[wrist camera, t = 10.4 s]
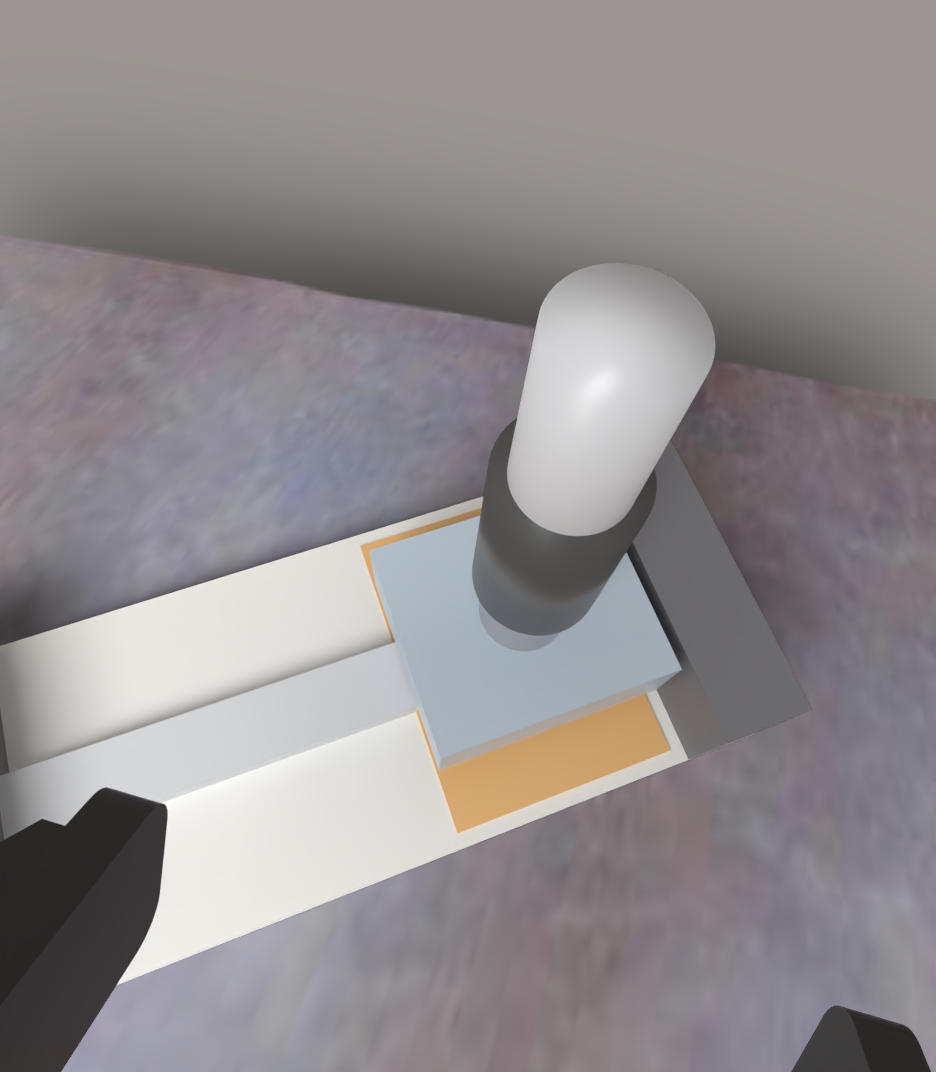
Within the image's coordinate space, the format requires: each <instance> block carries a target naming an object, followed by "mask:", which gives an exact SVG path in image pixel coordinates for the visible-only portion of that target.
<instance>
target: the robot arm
mask: <svg viewBox="0 0 936 1072" xmlns="http://www.w3.org/2000/svg"><path fill="white" fill-rule="evenodd" d="M167 819H168V810H167V807H166V805H165V804H162V803H159V802H155V801H152V800H149V799H145V798H142V797H139V796H135V795H132V794H128V793H125V792H122V791H118V790H115V789H111V788H108V787H105V788H102V789H100V790H98V791H97V792H96V793H95V794H94V795H93V796H92V797H91V798H90V799H89V800H88V801H87V802H86V803H85V804H84V805H83V807H82V808H81V809H80V810H79V811H78V812H77V813H76V814H75V815H74V817H73V818H72V819H71V820H70V821H69V822H68V823H67V824H66V825H65V826H64V825H61V824H58V823H54V822H51V821H48V820H44V819H41V820H39V821H37V822H35V823H33V824H32V825H30V826H28V827H26V828H24V829H23V830H21V831H19V832H17V833H15V834H14V835H12V836H10V837H8V838H6V839H5V840H3V841H1V842H0V1072H61V1071H62V1069H63V1068H64V1066H65V1065H66V1063H67V1062H68V1060H69V1058H70V1057H71V1055H72V1054H73V1052H74V1051H75V1049H76V1048H77V1046H78V1044H79V1043H80V1041H81V1040H82V1038H83V1037H84V1035H85V1033H86V1032H87V1030H88V1029H89V1027H90V1026H91V1024H92V1023H93V1021H94V1019H95V1018H96V1016H97V1015H98V1013H99V1012H100V1010H101V1008H102V1007H103V1005H104V1004H105V1002H106V1001H107V999H108V998H109V996H110V994H111V993H112V991H113V990H114V988H115V987H116V985H117V984H118V982H119V980H120V979H121V977H122V976H123V974H124V973H125V971H126V969H127V968H128V966H129V965H130V963H131V962H132V960H133V959H134V957H135V955H136V954H137V952H138V950H139V949H140V947H141V945H142V943H143V941H144V939H145V937H146V935H147V933H148V931H149V929H150V926H151V924H152V921H153V918H154V915H155V912H156V909H157V906H158V901H159V896H160V888H161V878H162V868H163V859H164V849H165V839H166V829H167ZM792 1072H931V1071H930V1069H929V1066H928V1064H927V1061H926V1059H925V1056H924V1054H923V1051H922V1049H921V1046H920V1044H919V1042H918V1040H917V1038H916V1037H915V1035H914V1034H913V1032H912V1031H911V1030H910V1029H909V1028H908V1027H906V1026H905V1025H902V1024H899V1023H895V1022H892V1021H888V1020H885V1019H882V1018H878V1017H875V1016H872V1015H868V1014H865V1013H861V1012H858V1011H855V1010H851V1009H848V1008H844V1007H841V1006H833V1007H831V1008H830V1009H829V1010H828V1011H827V1012H826V1013H825V1015H824V1016H823V1018H822V1020H821V1021H820V1023H819V1025H818V1027H817V1028H816V1030H815V1032H814V1033H813V1035H812V1037H811V1039H810V1040H809V1042H808V1044H807V1046H806V1047H805V1049H804V1051H803V1053H802V1054H801V1056H800V1058H799V1059H798V1061H797V1063H796V1065H795V1066H794V1068H793V1070H792Z"/></svg>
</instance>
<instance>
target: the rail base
mask: <svg viewBox="0 0 936 1072" xmlns="http://www.w3.org/2000/svg"><path fill="white" fill-rule="evenodd" d="M655 471H656V479H657V491H656V498H655V502H654V505H653V508H652V511H651V513H650V515H649V517H648V519H647V520H646V522H645V523H644V525H643V527H642V528H641V530H640V531H639V533H638V534H637V536H636V538H635V539H634V541H633V542H632V544H631V545H630V547H629V549H628V550H627V554H628V557H629V559H630V561H631V563H632V565H633V567H634V569H635V571H636V573H637V576H638V578H639V580H640V582H641V584H642V586H643V588H644V590H645V592H646V595H647V597H648V599H649V601H650V603H651V605H652V607H653V609H654V612H655V614H656V616H657V618H658V620H659V622H660V624H661V626H662V628H663V631H664V633H665V635H666V637H667V639H668V641H669V643H670V645H671V647H672V650H673V652H674V654H675V656H676V658H677V660H678V662H679V664H680V666H681V669H682V670H681V671H679V672H678V673H677V674H675V675H674V676H673V677H672V678H670V679H669V680H668V681H666V682H665V683H664V684H663V685H661V686H660V687H659V688H658V689H656V690H654V691H651V692H649V693H646V694H643V695H641V696H638V697H635V698H632V699H630V700H627V701H624V702H622V703H619V704H616V705H614V706H611V707H608V708H606V709H603V710H600V711H598V712H595V713H592V714H590V715H587V716H584V717H582V718H579V719H576V720H574V721H571V722H568V723H565V724H563V725H560V726H557V727H555V728H552V729H549V730H547V731H544V732H541V733H539V734H536V735H533V736H531V737H528V738H525V739H523V740H520V741H517V742H515V743H512V744H509V745H506V746H504V747H501V748H498V749H496V750H493V751H490V752H488V753H485V754H482V755H480V756H477V757H474V758H472V759H469V760H466V761H464V762H461V763H458V764H456V765H453V766H450V767H448V768H445V769H442V770H438V767H437V764H436V761H435V758H434V755H433V752H432V749H431V746H430V743H429V740H428V737H427V734H426V731H425V728H424V725H423V723H422V720H421V717H420V714H419V711H418V708H417V705H416V702H415V699H414V696H413V693H412V690H411V687H410V684H409V681H408V678H407V675H406V673H405V670H404V667H403V664H402V661H401V658H400V655H399V652H398V649H397V646H396V643H395V640H394V637H393V634H392V631H391V628H390V625H389V623H388V620H387V617H386V614H385V611H384V608H383V605H382V602H381V599H380V596H379V593H378V590H377V587H376V584H375V581H374V575H373V569H372V563H371V557H370V551H369V550H372V549H375V548H379V547H382V546H385V545H388V544H391V543H394V542H398V541H401V540H404V539H407V538H410V537H414V536H417V535H420V534H423V533H426V532H430V531H433V530H436V529H439V528H442V527H445V526H449V525H452V524H455V523H458V522H461V521H465V520H468V519H471V518H474V517H477V516H480V515H481V509H482V502H483V497H479V498H476V499H473V500H470V501H467V502H463V503H460V504H457V505H454V506H450V507H447V508H444V509H441V510H437V511H434V512H431V513H428V514H425V515H421V516H418V517H415V518H412V519H408V520H405V521H402V522H399V523H395V524H392V525H389V526H386V527H383V528H379V529H376V530H373V531H370V532H366V533H363V534H360V535H357V536H353V537H350V538H347V539H344V540H341V541H337V542H334V543H331V544H328V545H324V546H321V547H318V548H315V549H312V550H308V551H305V552H302V553H299V554H295V555H292V556H289V557H286V558H282V559H279V560H276V561H273V562H270V563H266V564H263V565H260V566H257V567H253V568H250V569H247V570H244V571H240V572H237V573H234V574H231V575H228V576H224V577H221V578H218V579H215V580H211V581H208V582H205V583H202V584H198V585H195V586H192V587H189V588H186V589H182V590H179V591H176V592H173V593H169V594H166V595H163V596H160V597H156V598H153V599H150V600H147V601H144V602H140V603H137V604H134V605H131V606H127V607H124V608H121V609H118V610H115V611H111V612H108V613H105V614H102V615H98V616H95V617H92V618H89V619H85V620H82V621H79V622H76V623H73V624H69V625H66V626H63V627H60V628H56V629H53V630H50V631H47V632H43V633H40V634H37V635H34V636H31V637H27V638H24V639H21V640H18V641H14V642H11V643H8V644H5V645H1V646H0V842H1V841H3V840H5V839H6V838H8V837H10V836H12V835H14V834H15V833H17V832H19V831H21V830H23V829H24V828H26V827H28V826H30V825H32V824H33V823H35V822H37V821H39V820H41V819H44V820H48V821H51V822H54V823H58V824H61V825H64V826H65V825H66V824H67V823H68V822H69V821H70V820H71V819H72V818H73V817H74V815H75V814H76V813H77V812H78V811H79V810H80V809H81V808H82V807H83V805H84V804H85V803H86V802H87V801H88V800H89V799H90V798H91V797H92V796H93V795H94V794H95V793H96V792H97V791H98V790H100V789H102V788H105V787H108V788H111V789H115V790H118V791H122V792H125V793H128V794H132V795H135V796H139V797H142V798H145V799H149V800H152V801H155V802H159V803H162V804H165V805H166V807H167V810H168V819H167V829H166V839H165V849H164V859H163V868H162V878H161V888H160V896H159V901H158V906H157V909H156V912H155V915H154V918H153V921H152V924H151V926H150V929H149V931H148V933H147V935H146V937H145V939H144V941H143V943H142V945H141V947H140V949H139V950H138V952H137V954H136V955H135V957H134V959H133V960H132V962H131V963H130V965H129V966H128V968H127V969H126V971H125V973H124V974H123V976H122V977H121V979H120V980H119V982H118V984H117V985H119V984H121V983H124V982H126V981H129V980H131V979H134V978H137V977H139V976H142V975H144V974H147V973H149V972H152V971H154V970H157V969H159V968H162V967H164V966H167V965H170V964H172V963H175V962H177V961H180V960H182V959H185V958H187V957H190V956H192V955H195V954H197V953H200V952H202V951H205V950H208V949H210V948H213V947H215V946H218V945H220V944H223V943H225V942H228V941H230V940H233V939H235V938H238V937H241V936H243V935H246V934H248V933H251V932H253V931H256V930H258V929H261V928H263V927H266V926H268V925H271V924H274V923H276V922H279V921H281V920H284V919H286V918H289V917H291V916H294V915H296V914H299V913H301V912H304V911H306V910H309V909H312V908H314V907H317V906H319V905H322V904H324V903H327V902H329V901H332V900H334V899H337V898H339V897H342V896H345V895H347V894H350V893H352V892H355V891H357V890H360V889H362V888H365V887H367V886H370V885H372V884H375V883H377V882H380V881H383V880H385V879H388V878H390V877H393V876H395V875H398V874H400V873H403V872H405V871H408V870H410V869H413V868H416V867H418V866H421V865H423V864H426V863H428V862H431V861H433V860H436V859H438V858H441V857H443V856H446V855H448V854H451V853H454V852H456V851H459V850H461V849H464V848H466V847H469V846H471V845H474V844H476V843H479V842H481V841H484V840H487V839H489V838H492V837H494V836H497V835H499V834H502V833H504V832H507V831H509V830H512V829H514V828H517V827H520V826H522V825H525V824H527V823H530V822H532V821H535V820H537V819H540V818H542V817H545V816H547V815H550V814H552V813H555V812H558V811H560V810H563V809H565V808H568V807H570V806H573V805H575V804H578V803H580V802H583V801H585V800H588V799H591V798H593V797H596V796H598V795H601V794H603V793H606V792H608V791H611V790H613V789H616V788H618V787H621V786H623V785H626V784H629V783H631V782H634V781H636V780H639V779H641V778H644V777H646V776H649V775H651V774H654V773H656V772H659V771H662V770H664V769H667V768H669V767H672V766H674V765H677V764H679V763H682V762H684V761H687V760H689V759H692V758H694V757H697V756H700V755H702V754H705V753H707V752H710V751H712V750H715V749H717V748H720V747H722V746H725V745H727V744H730V743H733V742H735V741H738V740H740V739H743V738H745V737H748V736H750V735H752V734H755V733H757V732H760V731H762V730H764V729H767V728H769V727H772V726H774V725H776V724H779V723H781V722H784V721H786V720H788V719H791V718H793V717H796V716H798V715H800V714H803V713H805V712H808V711H810V710H812V707H811V705H810V703H809V701H808V699H807V697H806V695H805V693H804V692H803V690H802V688H801V686H800V684H799V682H798V680H797V678H796V676H795V674H794V673H793V671H792V669H791V667H790V665H789V663H788V661H787V659H786V657H785V655H784V654H783V652H782V650H781V648H780V646H779V644H778V642H777V640H776V638H775V636H774V635H773V633H772V631H771V629H770V627H769V625H768V623H767V621H766V619H765V617H764V616H763V614H762V612H761V610H760V608H759V606H758V604H757V602H756V600H755V598H754V597H753V595H752V593H751V591H750V589H749V587H748V585H747V583H746V581H745V579H744V578H743V576H742V574H741V572H740V570H739V568H738V566H737V564H736V562H735V560H734V559H733V557H732V555H731V553H730V551H729V549H728V547H727V545H726V543H725V541H724V540H723V538H722V536H721V534H720V532H719V530H718V528H717V526H716V524H715V522H714V521H713V519H712V517H711V515H710V513H709V511H708V509H707V507H706V505H705V503H704V502H703V500H702V498H701V496H700V494H699V492H698V490H697V488H696V486H695V484H694V483H693V481H692V479H691V477H690V475H689V473H688V471H687V469H686V467H685V465H684V464H683V462H682V460H681V458H680V456H679V454H678V452H677V450H676V448H675V446H674V445H673V443H672V441H671V439H670V441H669V443H668V445H667V446H666V448H665V450H664V452H663V453H662V455H661V457H660V459H659V460H658V462H657V464H656V466H655Z"/></svg>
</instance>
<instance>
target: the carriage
mask: <svg viewBox="0 0 936 1072" xmlns="http://www.w3.org/2000/svg"><path fill="white" fill-rule="evenodd" d="M714 354H715V337H714V331H713V327H712V324H711V321H710V319H709V317H708V315H707V313H706V311H705V310H704V308H703V307H702V305H701V304H700V302H699V301H698V300H697V299H696V298H695V297H694V295H693V294H692V293H691V292H689V291H688V290H687V289H686V288H685V287H684V286H682V285H681V284H680V283H678V282H677V281H675V280H674V279H672V278H670V277H669V276H667V275H665V274H662V273H660V272H658V271H656V270H653V269H650V268H647V267H643V266H638V265H634V264H626V263H607V264H598V265H594V266H589V267H586V268H583V269H581V270H578V271H576V272H574V273H572V274H570V275H568V276H567V277H565V278H564V279H562V280H561V281H560V282H559V283H558V284H557V285H555V286H554V287H553V289H552V290H551V291H550V292H549V293H548V295H547V297H546V298H545V300H544V302H543V304H542V306H541V309H540V312H539V316H538V320H537V325H536V330H535V335H534V340H533V345H532V349H531V354H530V359H529V364H528V369H527V373H526V378H525V383H524V388H523V393H522V398H521V402H520V407H519V412H518V417H517V418H516V419H515V420H514V421H513V422H511V423H510V424H509V425H508V426H507V427H506V428H505V429H504V431H503V432H502V433H501V434H500V436H499V437H498V439H497V441H496V442H495V445H494V447H493V449H492V452H491V456H490V460H489V465H488V471H487V477H486V484H485V490H484V496H483V502H482V509H481V515H480V516H477V517H474V518H471V519H468V520H465V521H461V522H458V523H455V524H452V525H449V526H445V527H442V528H439V529H436V530H433V531H430V532H426V533H423V534H420V535H417V536H414V537H410V538H407V539H404V540H401V541H398V542H394V543H391V544H388V545H385V546H382V547H379V548H375V549H372V550H369V551H370V557H371V563H372V569H373V575H374V581H375V584H376V587H377V590H378V593H379V596H380V599H381V602H382V605H383V608H384V611H385V614H386V617H387V620H388V623H389V625H390V628H391V631H392V634H393V637H394V640H395V643H396V646H397V649H398V652H399V655H400V658H401V661H402V664H403V667H404V670H405V673H406V675H407V678H408V681H409V684H410V687H411V690H412V693H413V696H414V699H415V702H416V705H417V708H418V711H419V714H420V717H421V720H422V723H423V725H424V728H425V731H426V734H427V737H428V740H429V743H430V746H431V749H432V752H433V755H434V758H435V761H436V764H437V767H438V770H442V769H445V768H448V767H450V766H453V765H456V764H458V763H461V762H464V761H466V760H469V759H472V758H474V757H477V756H480V755H482V754H485V753H488V752H490V751H493V750H496V749H498V748H501V747H504V746H506V745H509V744H512V743H515V742H517V741H520V740H523V739H525V738H528V737H531V736H533V735H536V734H539V733H541V732H544V731H547V730H549V729H552V728H555V727H557V726H560V725H563V724H565V723H568V722H571V721H574V720H576V719H579V718H582V717H584V716H587V715H590V714H592V713H595V712H598V711H600V710H603V709H606V708H608V707H611V706H614V705H616V704H619V703H622V702H624V701H627V700H630V699H632V698H635V697H638V696H641V695H643V694H646V693H649V692H651V691H654V690H656V689H658V688H659V687H660V686H661V685H663V684H664V683H665V682H666V681H668V680H669V679H670V678H672V677H673V676H674V675H675V674H677V673H678V672H679V671H681V670H682V669H681V666H680V664H679V662H678V660H677V658H676V656H675V654H674V652H673V650H672V647H671V645H670V643H669V641H668V639H667V637H666V635H665V633H664V631H663V628H662V626H661V624H660V622H659V620H658V618H657V616H656V614H655V612H654V609H653V607H652V605H651V603H650V601H649V599H648V597H647V595H646V592H645V590H644V588H643V586H642V584H641V582H640V580H639V578H638V576H637V573H636V571H635V569H634V567H633V565H632V563H631V561H630V559H629V557H628V554H627V550H628V549H629V547H630V545H631V544H632V542H633V541H634V539H635V538H636V536H637V534H638V533H639V531H640V530H641V528H642V527H643V525H644V523H645V522H646V520H647V519H648V517H649V515H650V513H651V511H652V508H653V505H654V502H655V498H656V491H657V479H656V471H655V466H656V464H657V462H658V460H659V459H660V457H661V455H662V453H663V452H664V450H665V448H666V446H667V445H668V443H669V441H670V439H671V438H672V436H673V434H674V432H675V431H676V429H677V427H678V425H679V424H680V422H681V420H682V418H683V417H684V415H685V413H686V411H687V410H688V408H689V406H690V404H691V403H692V401H693V399H694V397H695V396H696V394H697V392H698V390H699V389H700V387H701V385H702V383H703V382H704V380H705V378H706V376H707V374H708V372H709V370H710V368H711V366H712V363H713V360H714Z"/></svg>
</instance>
